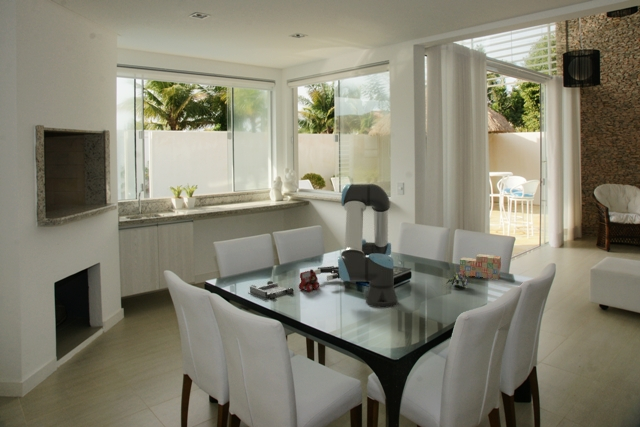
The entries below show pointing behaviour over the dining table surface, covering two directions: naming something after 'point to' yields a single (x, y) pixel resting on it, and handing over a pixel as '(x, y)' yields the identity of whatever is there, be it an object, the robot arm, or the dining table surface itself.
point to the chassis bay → (269, 290)
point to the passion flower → (458, 279)
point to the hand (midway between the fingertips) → (319, 275)
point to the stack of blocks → (481, 266)
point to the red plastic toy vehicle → (308, 281)
